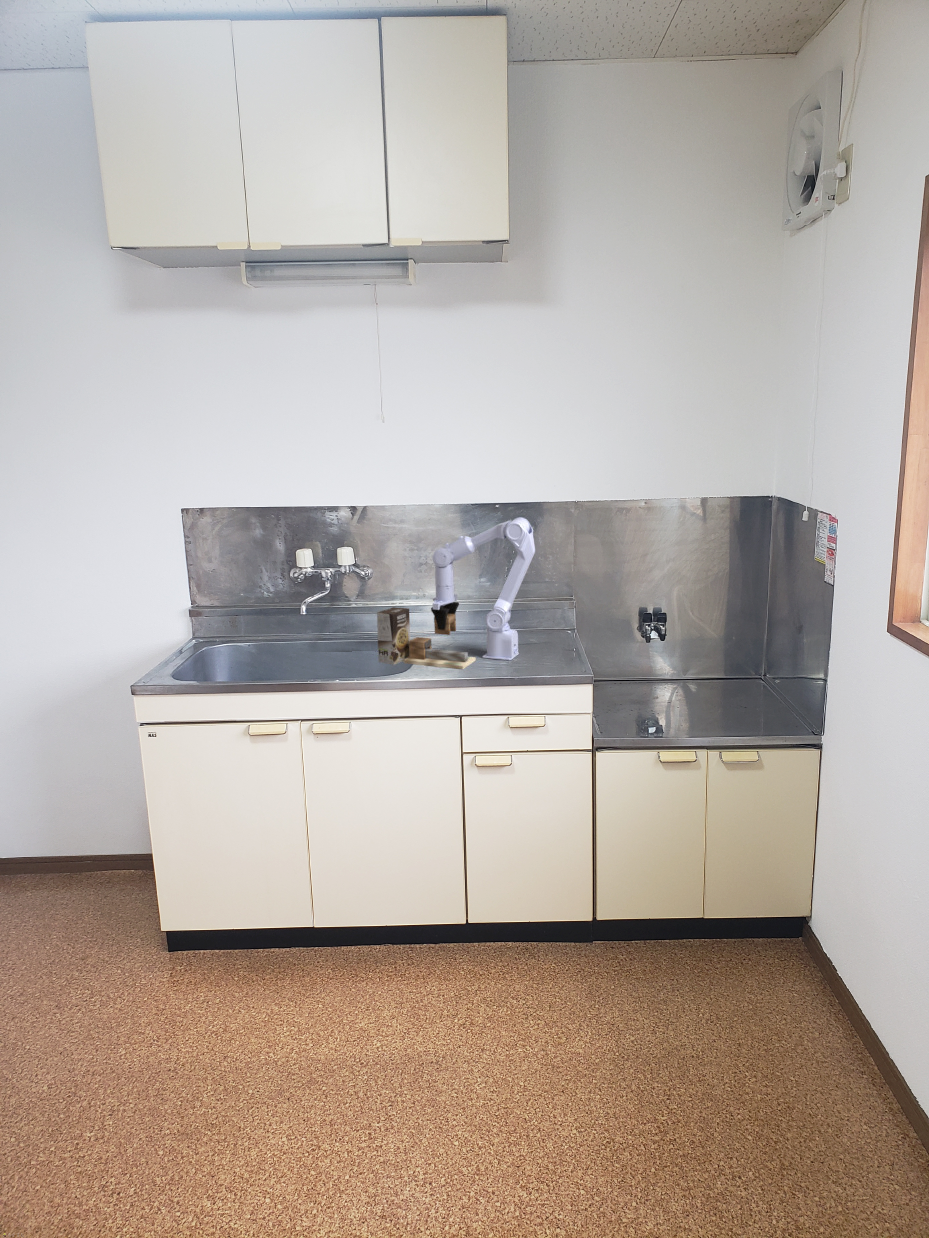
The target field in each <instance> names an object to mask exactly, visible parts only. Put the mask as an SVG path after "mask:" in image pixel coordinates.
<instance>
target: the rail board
mask: <svg viewBox="0 0 929 1238" xmlns="http://www.w3.org/2000/svg"><path fill="white" fill-rule="evenodd" d="M409 653H410V656H409V657H408V658H406V659H404V660H403V661H402V662H403V664H408V665H409V664H410V665H416V666H417V665H418V666H419V665H420V666H427V667H429V666H430V667H436V668H437V667H439V668H448V669H456V670H457V669H458V670H464V669H465V668H467V667H468V666H470V665H471V664H473V663H475V661H476V657H475V656H474V657H473V656H469V655H468V652H466V651H455V650H445V649H435V648H432V638H431V637H421V636H416V637H414V638H413V639H410V641H409Z"/></svg>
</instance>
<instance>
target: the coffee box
mask: <svg viewBox="0 0 929 1238" xmlns="http://www.w3.org/2000/svg"><path fill="white" fill-rule="evenodd" d="M376 617H377V618H376V623H377V625H376V627H377V650H378V651H377V657H378V663H380V664H381V663H382V664H386V665H387V664H388V665H392V666H394V665H397V664H399V663H402V662H404V661H403V660H404V659H406V658H408V657H409V656H410V653H409V641H410V640H411V626H410V625H411V623H410V608H404V607H396V606H394V607H390V608H386V609H384V610H381V611H377V612H376Z"/></svg>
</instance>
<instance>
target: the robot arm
mask: <svg viewBox="0 0 929 1238" xmlns="http://www.w3.org/2000/svg"><path fill="white" fill-rule="evenodd" d="M495 539H503V540H506V539H508V541H510V543H511V544H512V545H513V546H514V548H515V550H516V552H517V554H516V557H515V558H514V561H513V564H512V566H511V568H510V570H509V573H508V575H507V578H506V580H505V582H504V585H503V587H502V589H501V591H500V594H499V596H498V599H497V600H496V602H495V603H494V605H493V608H492V609H491V611H489V612H488V613H486V616H485V618H484V621H485V624H486V653H485V654H483V655H482V658H483V659H493V660H503V661H512V660H513V659H515V658H516V657H517V656H518V655H519V654H520V652H519V634H518V631H517V630H516V629H512V628H511V626H510V624H509V623H508V622H509V621H510V620H511V617H512V612H511V611H512V608H513V605H514V604H513V603H514V601H515V599H516V596H517V594H518V592H519V590H520V587H521V586H522V583H523V580H524V579H525V577H526V573H527V572H528V570H529V567H530V564H531V562H532V560H533V558H534V555H535V553H536V546H535V540H534V529H533V526H532V525H531V523H530V521H529V520H528V519H526V518H525V517H516V518H514V519H513V520H512V519H511V520H507V521H504V522H501V523H498V524H496V525H494V526H493V527H490V528H489V529H487V530H484V531H483V532H481V533H478V534H477V535H475V536H473V537H470V536H467V535H464V536H463V535H460V536H458V537H457V539H456V540H455V541H453V542H450V543H449V542H447V543H445V544H444V546H441V547H440V548H437V549H436V550H435V551H434V552H433V555H432V561H433V564H434V567H435V573H434V580H435V597H433V598H432V601H433V602H432V607H430V611H431V613H432V614H433V617H435V619H436V622H437V626H438V629H441V630H445V628H446V619H447V614H456V613H457V610H458V608H459V605H460V603H459V602H458V594H456V593H455V587H454V585H455V584H454V583H455V581H454V562H456V561H459V560H461V559H463V558H465V557H468V556H470V555H472V554H473V553H475V550H476V548H477V547H479V546H482V545H483V544H486V543H487V542H488V543H489V542H490V541H492V540H493V541H494V540H495Z"/></svg>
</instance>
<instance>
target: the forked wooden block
mask: <svg viewBox="0 0 929 1238" xmlns="http://www.w3.org/2000/svg"><path fill="white" fill-rule="evenodd" d="M456 620H457V617H456V613H455V614H447V619H446V628H445V630H441V629H438V626H437V622H436V619H435V616H433V623H434V624H433V625H434V634H435V635H444V636H445V635H447V636H449V635H451V632H456V631H457V621H456Z"/></svg>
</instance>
